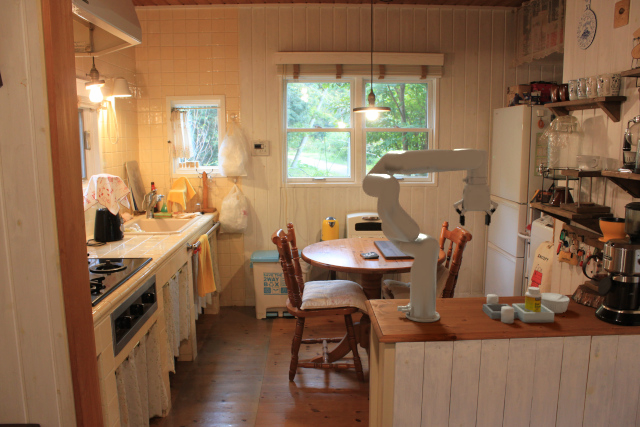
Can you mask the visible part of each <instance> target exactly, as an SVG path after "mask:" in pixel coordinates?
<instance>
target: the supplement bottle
mask: <svg viewBox="0 0 640 427" xmlns="http://www.w3.org/2000/svg"><path fill="white" fill-rule="evenodd" d="M540 290H541V289H540V288H539V287H537V286H536V287H535V286H529V287H528V288H527V291H526V292H525V297H524V304H525V312H541V298H542V295H541V294H540Z"/></svg>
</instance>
